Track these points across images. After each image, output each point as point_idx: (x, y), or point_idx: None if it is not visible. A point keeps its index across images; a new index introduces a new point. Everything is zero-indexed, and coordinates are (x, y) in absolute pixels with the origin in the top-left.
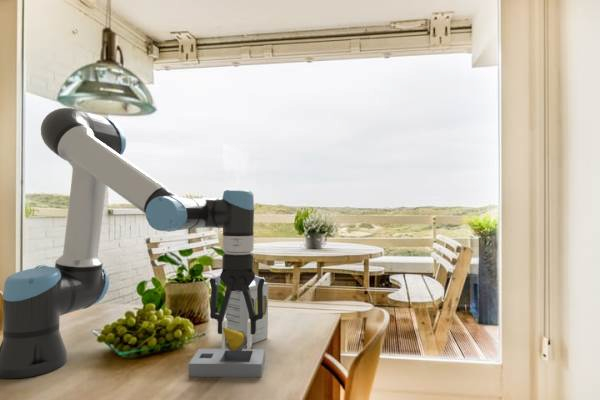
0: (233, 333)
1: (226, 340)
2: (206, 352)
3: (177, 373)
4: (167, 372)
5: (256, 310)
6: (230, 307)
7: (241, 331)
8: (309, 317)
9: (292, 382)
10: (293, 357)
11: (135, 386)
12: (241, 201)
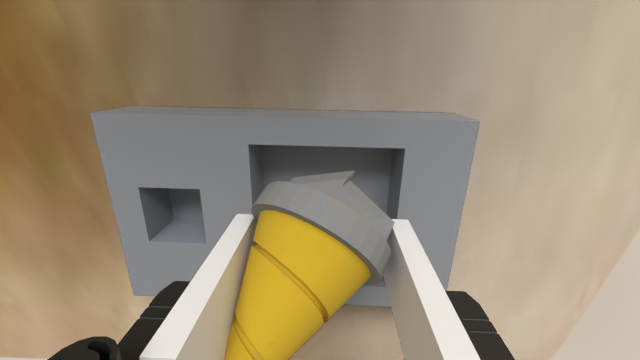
0: (296, 350)
1: (247, 242)
2: (156, 174)
3: (111, 238)
4: (70, 229)
5: None
6: None
7: (346, 242)
8: None
9: (533, 311)
10: (615, 61)
11: (36, 320)
12: None
